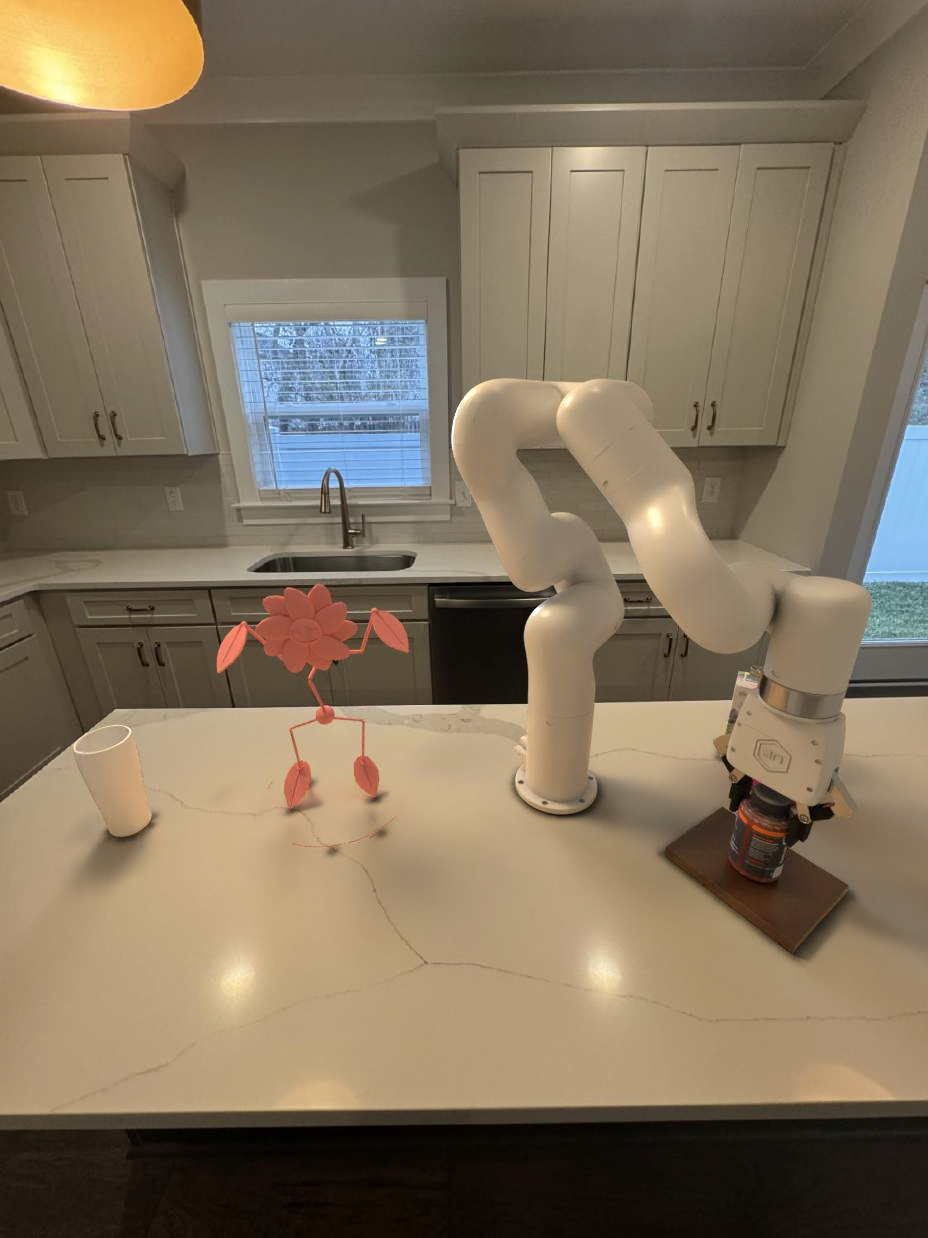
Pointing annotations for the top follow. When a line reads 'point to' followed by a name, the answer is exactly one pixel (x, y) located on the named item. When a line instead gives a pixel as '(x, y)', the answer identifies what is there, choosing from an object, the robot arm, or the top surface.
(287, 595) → the figurine
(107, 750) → the drinking glass
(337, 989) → the top surface
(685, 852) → the cutting board
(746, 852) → the supplement bottle
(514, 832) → the top surface
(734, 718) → the syrup box
